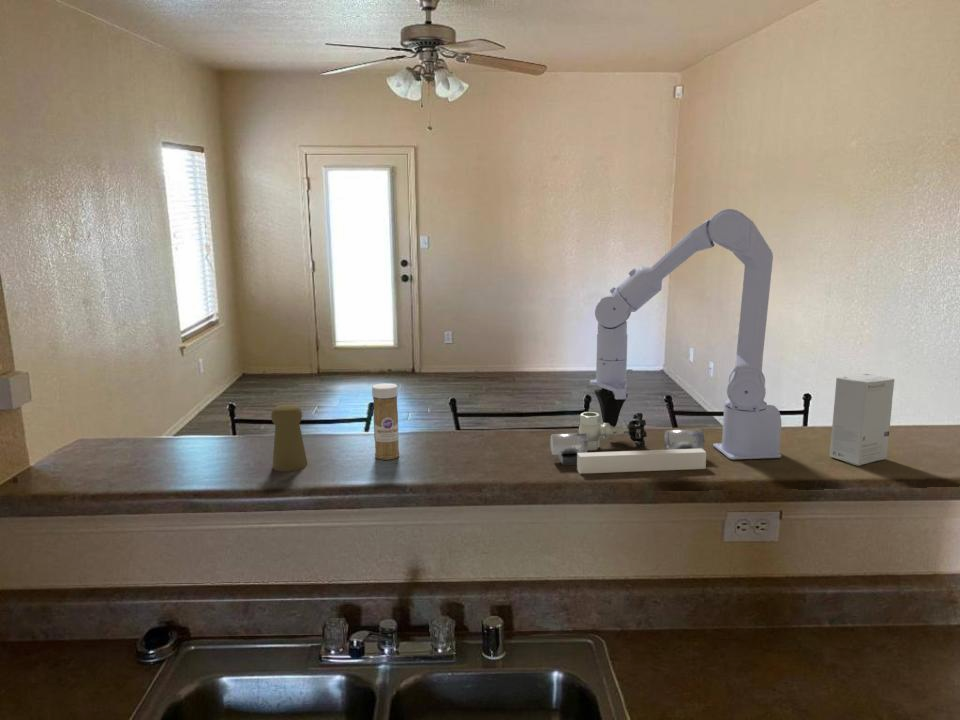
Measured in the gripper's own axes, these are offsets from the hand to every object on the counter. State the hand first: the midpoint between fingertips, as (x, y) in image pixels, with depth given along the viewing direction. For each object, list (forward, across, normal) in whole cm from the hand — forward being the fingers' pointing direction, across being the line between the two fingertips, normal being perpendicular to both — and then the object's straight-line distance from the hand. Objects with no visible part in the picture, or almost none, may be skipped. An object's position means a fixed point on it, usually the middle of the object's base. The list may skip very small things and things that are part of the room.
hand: (609, 426), depth 136 cm
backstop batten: (+3, +17, +1) cm, 17 cm away
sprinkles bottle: (+3, +6, -43) cm, 43 cm away
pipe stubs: (+3, +12, 0) cm, 12 cm away
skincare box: (+3, +16, +41) cm, 44 cm away
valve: (+3, +5, -1) cm, 6 cm away
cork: (+3, +9, -60) cm, 61 cm away
